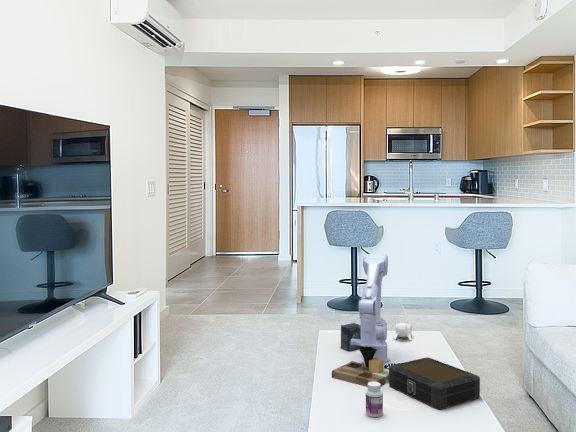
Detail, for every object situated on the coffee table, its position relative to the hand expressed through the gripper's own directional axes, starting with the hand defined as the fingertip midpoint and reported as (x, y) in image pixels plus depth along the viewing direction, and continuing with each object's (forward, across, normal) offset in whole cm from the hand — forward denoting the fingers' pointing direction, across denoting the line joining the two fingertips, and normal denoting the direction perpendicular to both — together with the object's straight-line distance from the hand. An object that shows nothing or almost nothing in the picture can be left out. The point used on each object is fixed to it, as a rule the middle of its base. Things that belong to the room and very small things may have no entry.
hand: (368, 366), depth 196 cm
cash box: (+4, +26, 0) cm, 26 cm away
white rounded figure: (+4, -13, +52) cm, 54 cm away
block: (+1, +3, 0) cm, 4 cm away
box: (+4, -24, +24) cm, 34 cm away
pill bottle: (+4, +19, -28) cm, 34 cm away
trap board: (+3, 0, -3) cm, 5 cm away
